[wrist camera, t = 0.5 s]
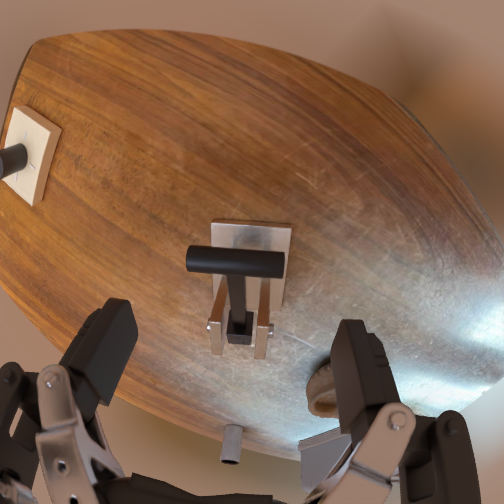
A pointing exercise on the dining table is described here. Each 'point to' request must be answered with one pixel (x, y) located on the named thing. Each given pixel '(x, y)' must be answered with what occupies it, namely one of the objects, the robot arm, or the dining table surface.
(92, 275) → the dining table surface
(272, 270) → the lever
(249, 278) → the bracket
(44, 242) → the dining table surface
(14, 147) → the dial
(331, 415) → the bowl
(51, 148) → the dial panel
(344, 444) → the toaster
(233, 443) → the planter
